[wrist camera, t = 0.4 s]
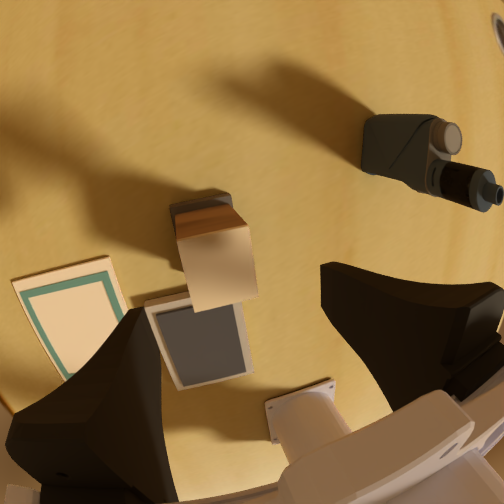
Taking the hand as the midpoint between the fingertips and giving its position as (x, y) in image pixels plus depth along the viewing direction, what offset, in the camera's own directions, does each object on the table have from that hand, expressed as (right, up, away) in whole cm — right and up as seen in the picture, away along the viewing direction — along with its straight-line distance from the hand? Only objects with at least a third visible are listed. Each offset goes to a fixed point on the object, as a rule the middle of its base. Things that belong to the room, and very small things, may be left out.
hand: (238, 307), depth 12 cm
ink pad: (-3, -5, +12) cm, 13 cm away
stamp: (-3, +3, +9) cm, 10 cm away
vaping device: (+10, +11, +10) cm, 18 cm away
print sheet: (-13, -4, +9) cm, 16 cm away
